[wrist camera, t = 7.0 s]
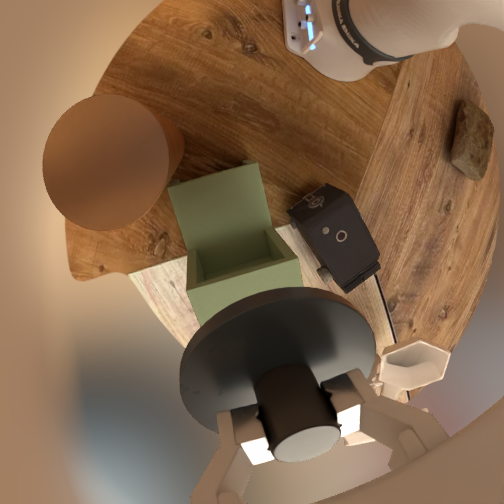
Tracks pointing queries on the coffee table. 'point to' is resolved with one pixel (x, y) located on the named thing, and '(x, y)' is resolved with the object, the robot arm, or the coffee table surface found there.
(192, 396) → the lid
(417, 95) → the coffee table surface
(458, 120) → the stone
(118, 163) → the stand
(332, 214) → the camera
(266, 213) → the shelf
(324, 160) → the coffee table surface
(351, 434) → the jewelry stand
